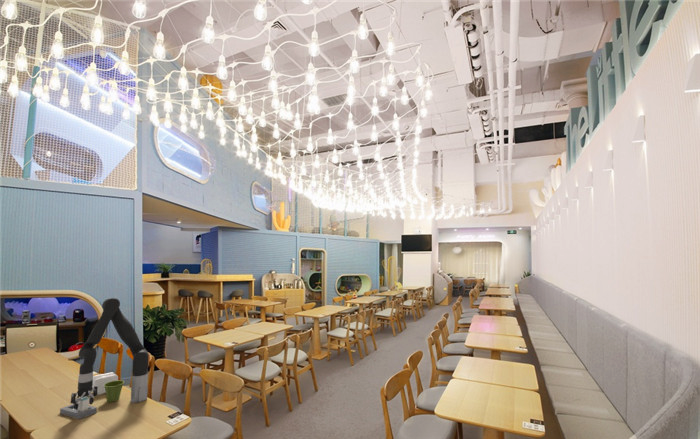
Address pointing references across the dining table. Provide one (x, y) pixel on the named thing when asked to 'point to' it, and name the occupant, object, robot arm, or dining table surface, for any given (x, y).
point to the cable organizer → (103, 381)
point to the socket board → (77, 411)
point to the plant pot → (113, 390)
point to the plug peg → (84, 404)
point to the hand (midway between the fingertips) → (83, 406)
